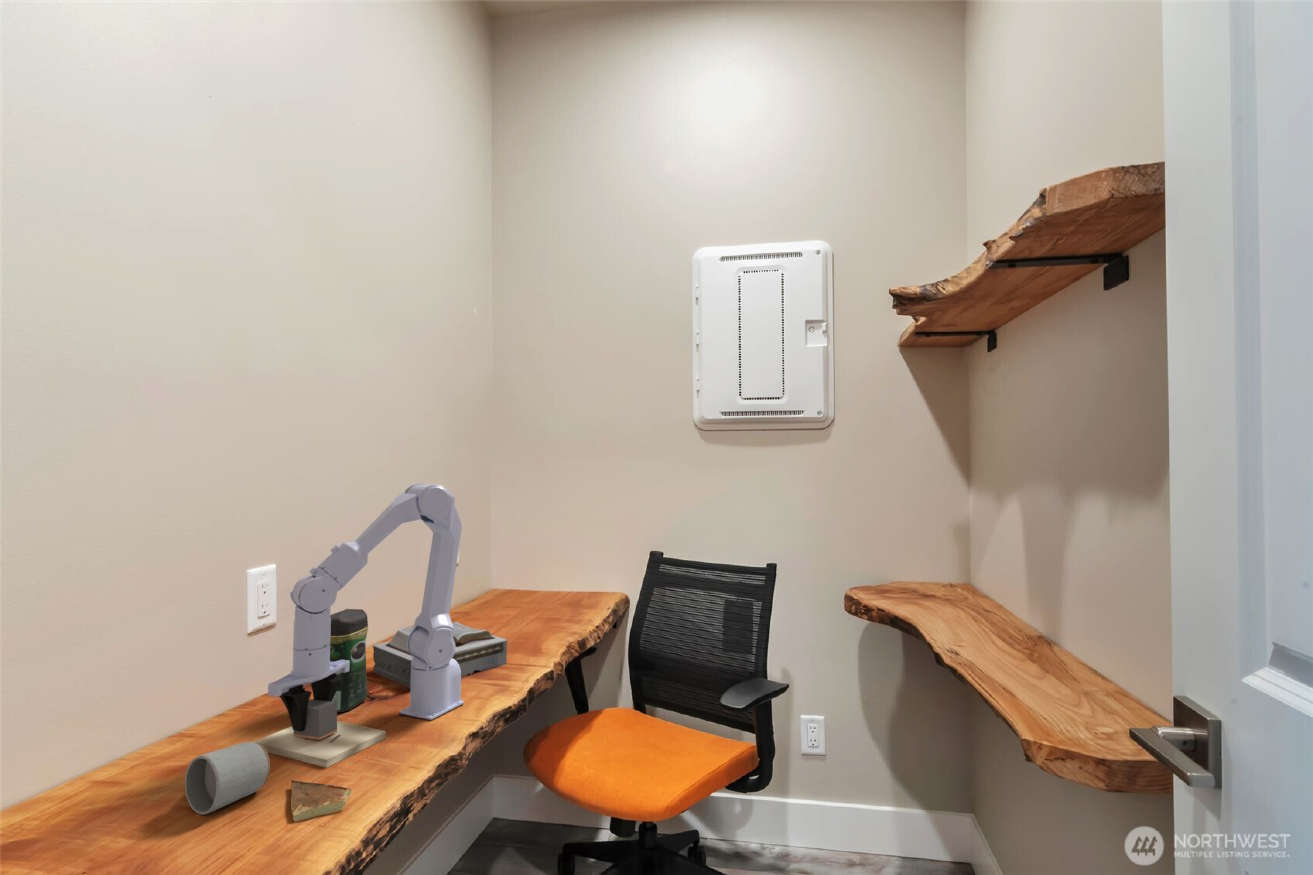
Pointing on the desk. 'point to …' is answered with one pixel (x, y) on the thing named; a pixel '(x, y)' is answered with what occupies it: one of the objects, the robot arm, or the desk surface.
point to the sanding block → (319, 720)
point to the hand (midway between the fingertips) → (309, 725)
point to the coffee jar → (350, 656)
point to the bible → (470, 653)
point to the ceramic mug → (226, 776)
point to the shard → (316, 799)
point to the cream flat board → (322, 744)
